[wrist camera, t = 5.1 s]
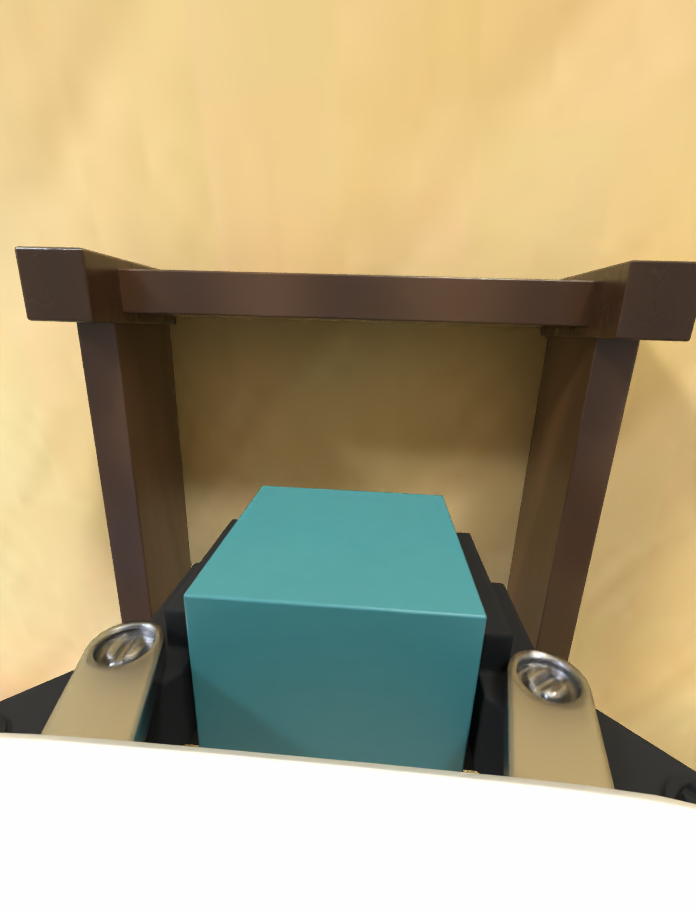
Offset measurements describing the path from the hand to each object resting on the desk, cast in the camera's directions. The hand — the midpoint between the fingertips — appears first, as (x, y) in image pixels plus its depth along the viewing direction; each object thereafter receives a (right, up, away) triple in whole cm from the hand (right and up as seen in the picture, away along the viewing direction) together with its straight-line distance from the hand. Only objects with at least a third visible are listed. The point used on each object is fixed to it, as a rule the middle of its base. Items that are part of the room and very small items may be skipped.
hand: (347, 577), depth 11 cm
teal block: (0, 0, 0) cm, 0 cm away
